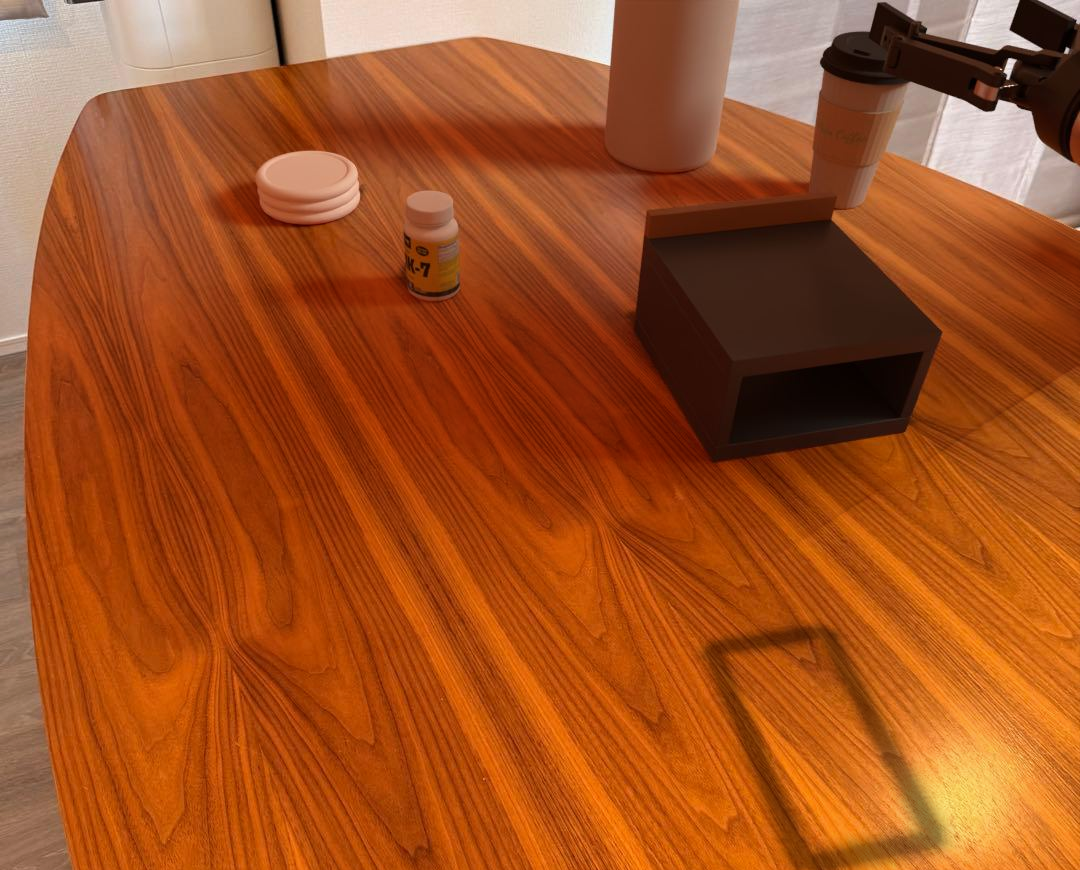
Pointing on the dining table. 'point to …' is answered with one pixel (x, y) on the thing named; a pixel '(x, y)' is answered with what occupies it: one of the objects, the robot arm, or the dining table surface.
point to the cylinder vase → (668, 81)
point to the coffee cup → (853, 117)
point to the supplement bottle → (431, 246)
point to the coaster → (308, 187)
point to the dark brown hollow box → (777, 327)
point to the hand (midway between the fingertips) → (948, 16)
